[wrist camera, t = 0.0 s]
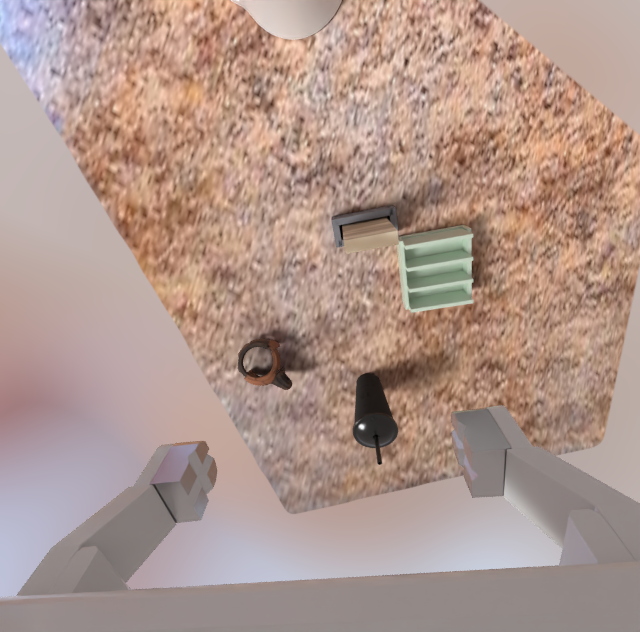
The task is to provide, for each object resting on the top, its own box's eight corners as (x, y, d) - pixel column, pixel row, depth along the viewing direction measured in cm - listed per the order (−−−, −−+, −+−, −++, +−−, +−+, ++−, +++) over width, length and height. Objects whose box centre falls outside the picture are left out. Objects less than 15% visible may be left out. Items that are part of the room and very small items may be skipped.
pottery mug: (235, 367, 69) (223, 370, 60) (261, 329, 69) (252, 327, 61) (283, 399, 68) (277, 406, 60) (308, 361, 68) (306, 363, 60)
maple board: (342, 223, 55) (343, 240, 43) (384, 215, 54) (397, 230, 42) (343, 233, 55) (345, 254, 44) (385, 226, 54) (398, 244, 43)
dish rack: (395, 237, 55) (401, 244, 50) (463, 224, 54) (476, 231, 49) (402, 301, 60) (408, 314, 55) (464, 291, 59) (476, 304, 54)
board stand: (331, 217, 54) (331, 220, 51) (392, 205, 53) (395, 207, 50) (336, 243, 56) (336, 247, 53) (395, 232, 55) (398, 236, 52)
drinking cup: (394, 384, 68) (415, 465, 50) (365, 403, 70) (375, 487, 52) (371, 360, 66) (384, 436, 48) (342, 381, 68) (344, 460, 50)
